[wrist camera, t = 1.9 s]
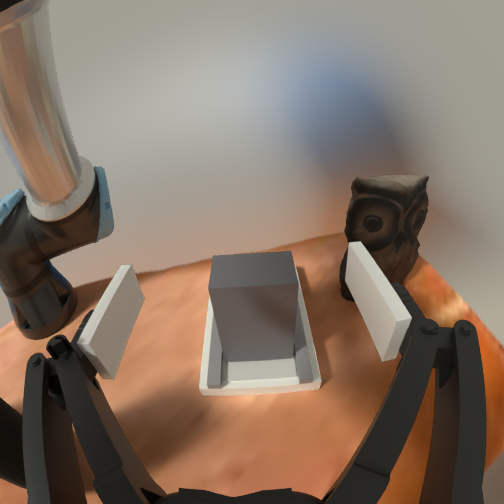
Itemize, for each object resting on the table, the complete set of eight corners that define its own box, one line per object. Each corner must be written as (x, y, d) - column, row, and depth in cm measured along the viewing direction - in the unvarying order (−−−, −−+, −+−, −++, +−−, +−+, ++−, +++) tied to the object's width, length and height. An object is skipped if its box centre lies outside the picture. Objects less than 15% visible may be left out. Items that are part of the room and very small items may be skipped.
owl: (410, 279, 44) (438, 174, 33) (391, 324, 36) (431, 200, 25) (351, 256, 51) (364, 154, 40) (321, 293, 43) (333, 172, 32)
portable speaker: (47, 430, 22) (-52, 333, 11) (93, 468, 19) (-31, 380, 9) (23, 470, 15) (-88, 387, 4) (68, 513, 13) (-70, 449, 2)
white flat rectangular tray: (319, 388, 29) (322, 377, 28) (202, 395, 29) (197, 384, 28) (295, 274, 47) (295, 260, 46) (214, 279, 48) (211, 266, 46)
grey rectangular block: (292, 358, 31) (298, 282, 24) (225, 362, 31) (208, 288, 24) (287, 326, 35) (290, 251, 28) (226, 330, 35) (213, 255, 28)
